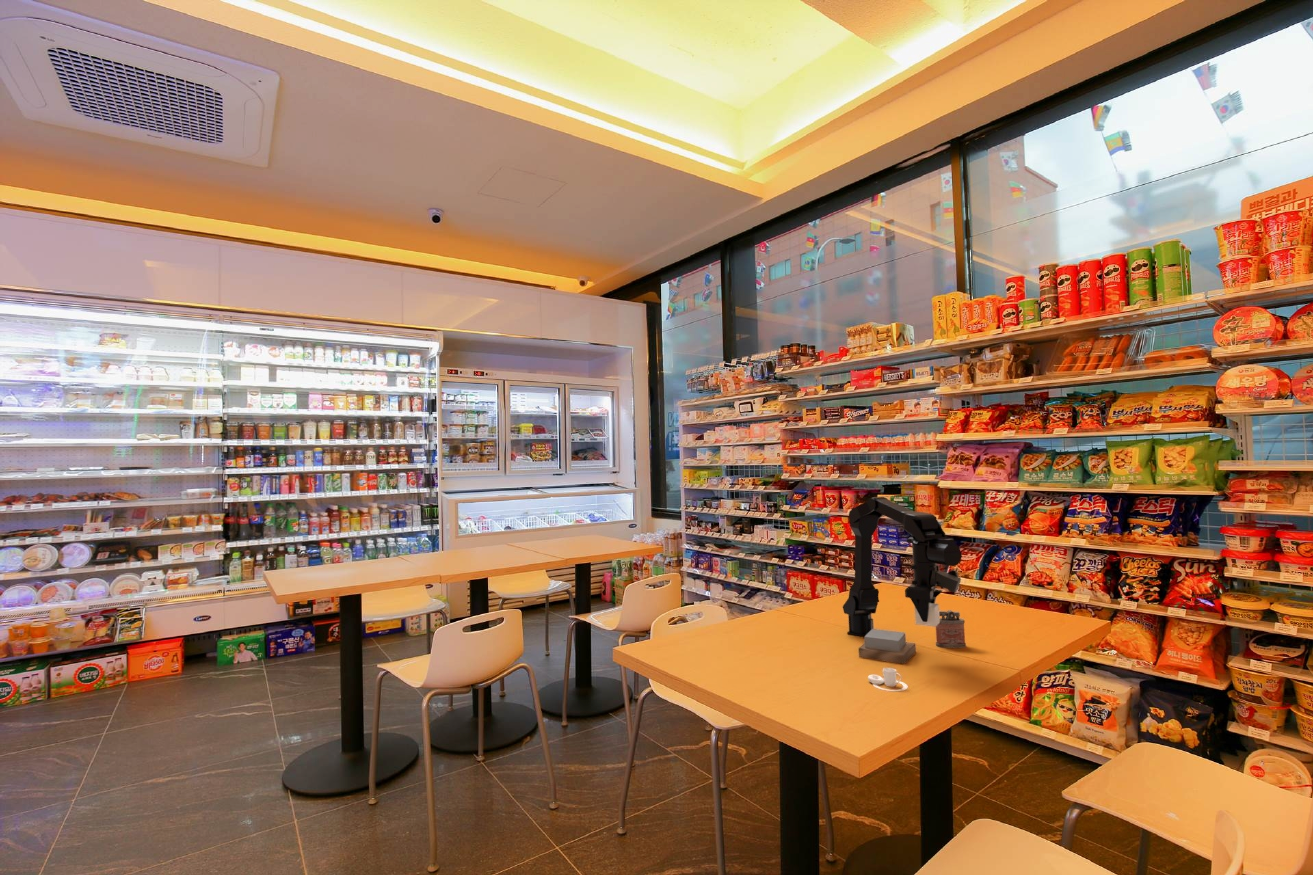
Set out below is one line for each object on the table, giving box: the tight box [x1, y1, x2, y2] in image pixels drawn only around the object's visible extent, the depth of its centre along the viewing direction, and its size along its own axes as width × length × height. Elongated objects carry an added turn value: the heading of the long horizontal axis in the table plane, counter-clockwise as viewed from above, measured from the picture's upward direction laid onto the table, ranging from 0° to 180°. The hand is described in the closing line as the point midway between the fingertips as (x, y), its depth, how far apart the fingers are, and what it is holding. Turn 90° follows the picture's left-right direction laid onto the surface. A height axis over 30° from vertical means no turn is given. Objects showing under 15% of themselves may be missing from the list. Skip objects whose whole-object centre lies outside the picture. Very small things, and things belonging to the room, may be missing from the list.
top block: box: [863, 628, 907, 652], centre depth 171 cm, size 9×9×3 cm
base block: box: [858, 641, 917, 665], centre depth 171 cm, size 12×12×3 cm
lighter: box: [935, 609, 967, 649], centre depth 177 cm, size 8×3×10 cm, turn 84°
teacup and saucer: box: [867, 667, 909, 692], centre depth 148 cm, size 9×8×4 cm
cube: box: [914, 602, 940, 628], centre depth 165 cm, size 5×5×5 cm
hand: (927, 619), depth 165 cm, fingers closed on cube, 5 cm apart
